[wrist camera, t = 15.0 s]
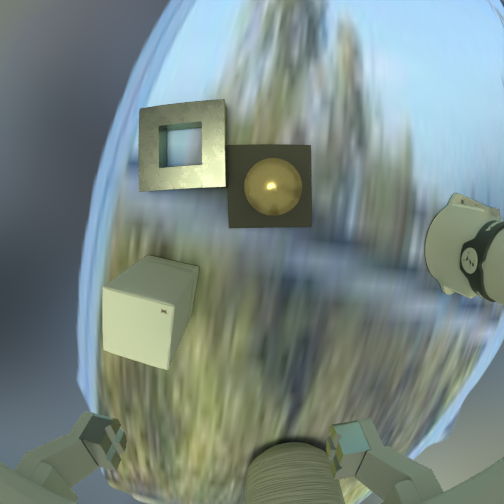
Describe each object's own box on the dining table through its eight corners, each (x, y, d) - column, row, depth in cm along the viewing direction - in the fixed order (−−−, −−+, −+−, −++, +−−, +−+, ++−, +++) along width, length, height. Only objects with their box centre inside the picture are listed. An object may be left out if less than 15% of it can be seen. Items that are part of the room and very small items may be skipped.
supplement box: (145, 253, 42) (100, 283, 27) (200, 265, 43) (176, 304, 28) (140, 304, 44) (101, 350, 29) (191, 318, 45) (168, 372, 30)
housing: (226, 107, 37) (224, 99, 33) (227, 186, 40) (225, 186, 36) (149, 115, 37) (139, 108, 33) (149, 191, 40) (139, 191, 36)
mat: (310, 145, 39) (310, 145, 38) (310, 226, 41) (311, 227, 41) (227, 145, 39) (226, 145, 38) (229, 227, 41) (228, 228, 41)
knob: (288, 165, 39) (302, 158, 28) (288, 207, 40) (301, 215, 29) (246, 165, 39) (243, 158, 28) (246, 207, 40) (244, 215, 29)
